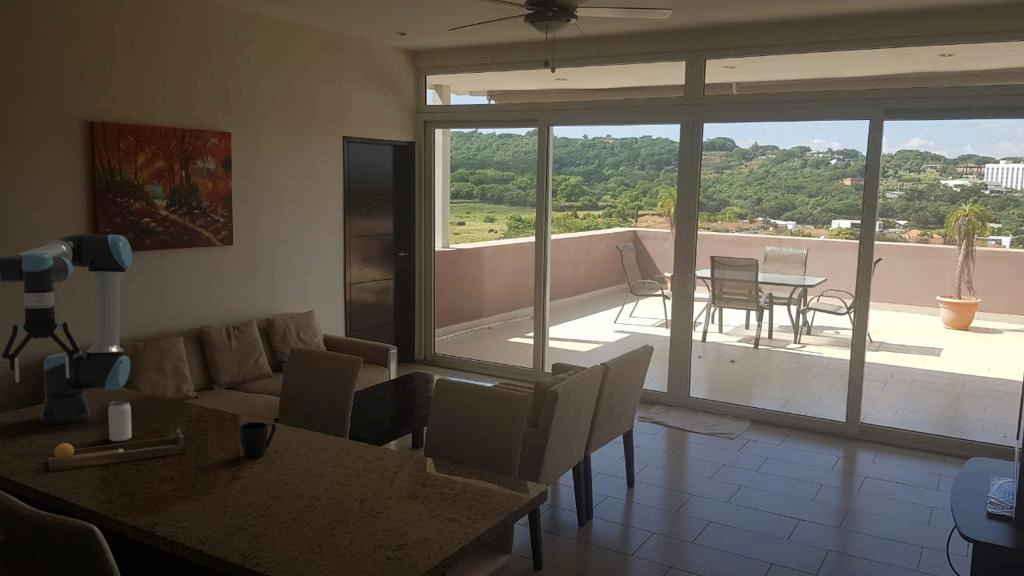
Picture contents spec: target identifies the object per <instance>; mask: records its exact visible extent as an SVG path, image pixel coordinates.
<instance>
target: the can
mask: <svg viewBox="0 0 1024 576" xmlns="http://www.w3.org/2000/svg"><path fill="white" fill-rule="evenodd" d="M131 408H132V407H131V405H130V401H129V400H114V401H110V402H109V406H108V409H107V410H108V411H107V413H108V436H109V440H110V441H111V442H116V443H117V442H125V441H128V440H130V439H131V438H132V434H133V433H132V412H131V411H132V409H131Z"/></svg>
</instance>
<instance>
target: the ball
mask: <svg viewBox="0 0 1024 576" xmlns="http://www.w3.org/2000/svg"><path fill="white" fill-rule="evenodd" d="M53 452H54V454H55V457H56V458H57V459H59V460H66V459H70V458H71V457H72V456H73V454H74V446H72V444H70V443H67V442H62V443H59V444H58V445H57V446H56V447H55V449H54V451H53Z"/></svg>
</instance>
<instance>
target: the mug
mask: <svg viewBox="0 0 1024 576" xmlns="http://www.w3.org/2000/svg"><path fill="white" fill-rule="evenodd" d="M269 426H271V430H270V433H269ZM276 429H277V427H276V423H275V422H268V423H265V422H263V421H262V422H261V421H253V422H246V423H243V424H241V425H240V426H239V440H240V441H239V442H240V445H241V446H240V447H241V450H242V452H243V454H244V455H243V457H244V458H245V459H250V460H254V459H256V460H257V459H260V458H262V457H264V455H265V452H266V450H267V449H268V448H269V445H270V443H271V441H272V439H273V436H274V435H275V432H276Z"/></svg>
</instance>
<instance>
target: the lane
mask: <svg viewBox="0 0 1024 576" xmlns="http://www.w3.org/2000/svg"><path fill="white" fill-rule="evenodd" d="M175 435H176V436H171V437H163V438H155V439H154V438H153V439H146V440H138V441H131V442H123V443H122V442H121V443H115V444H104V445H97V446H91V447H90V446H89V447H83V448H82V447H81V448H75V449H74V454H73V456H72V457H71V458H70V459H66V460H59V459H57V458H56V457H55V454H54V452H55V451H50V452H48V472H53V471H54V472H55V471H62V470H69V469H77V468H84V467H85V468H87V467H93V466H98V465H99V466H100V465H107V464H115V463H122V462H130V461H137V460H144V459H151V458H152V457H153V458H159V457H158V456H160V457H166V455H168V456H174V455H173V454H175V455H180V454H179V453H183V454H185V436H184V434H183V433H182V431H181V429H180V428H176V429H175ZM164 455H165V456H164Z"/></svg>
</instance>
